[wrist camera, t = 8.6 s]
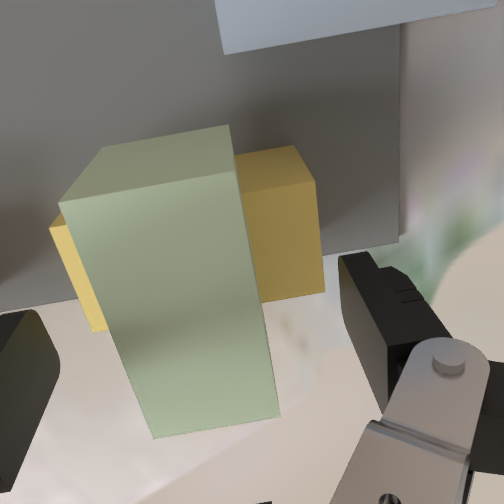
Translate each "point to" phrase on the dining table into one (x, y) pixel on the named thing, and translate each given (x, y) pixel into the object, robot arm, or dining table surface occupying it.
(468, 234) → the dining table surface
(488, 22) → the dining table surface
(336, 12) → the blue block
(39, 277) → the mat
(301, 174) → the mustard block
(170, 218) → the green block
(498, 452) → the robot arm
